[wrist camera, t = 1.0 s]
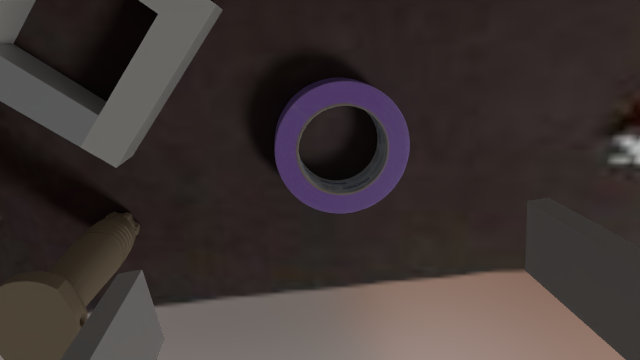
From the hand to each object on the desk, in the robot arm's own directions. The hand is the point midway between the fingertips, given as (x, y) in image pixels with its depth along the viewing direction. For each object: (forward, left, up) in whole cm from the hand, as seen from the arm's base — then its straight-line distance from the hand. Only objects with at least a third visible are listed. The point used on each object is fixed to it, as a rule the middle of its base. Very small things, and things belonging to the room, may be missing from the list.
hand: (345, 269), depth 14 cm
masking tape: (+3, +1, -25) cm, 26 cm away
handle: (-9, -17, -25) cm, 31 cm away
